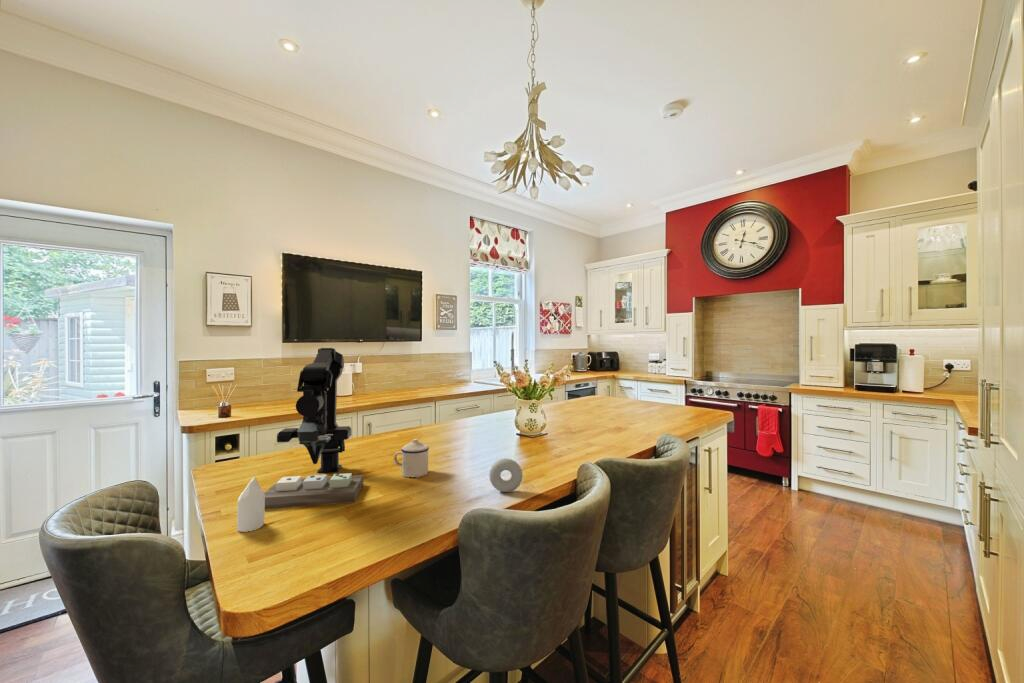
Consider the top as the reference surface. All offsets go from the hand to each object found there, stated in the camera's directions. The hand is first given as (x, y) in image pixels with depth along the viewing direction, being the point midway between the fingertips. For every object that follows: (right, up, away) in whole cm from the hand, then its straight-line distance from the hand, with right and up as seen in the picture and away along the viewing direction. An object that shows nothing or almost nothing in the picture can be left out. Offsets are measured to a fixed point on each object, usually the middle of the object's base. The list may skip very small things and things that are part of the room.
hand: (315, 463), depth 114 cm
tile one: (-7, -7, -1) cm, 10 cm away
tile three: (+7, -7, +1) cm, 10 cm away
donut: (+55, -10, +4) cm, 56 cm away
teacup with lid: (+23, -10, +20) cm, 31 cm away
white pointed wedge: (-6, -10, -19) cm, 22 cm away
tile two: (0, -7, 0) cm, 7 cm away
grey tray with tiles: (0, -9, 0) cm, 9 cm away
